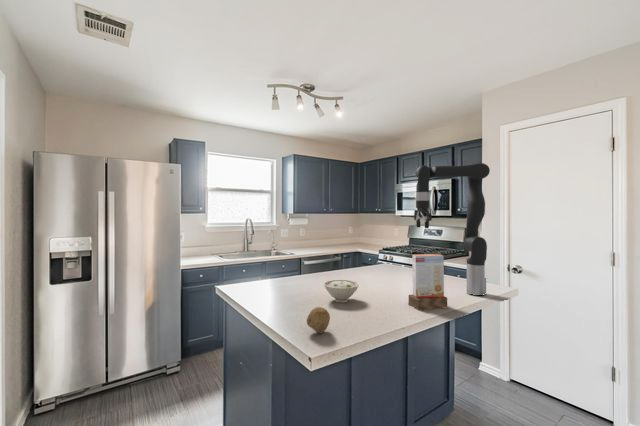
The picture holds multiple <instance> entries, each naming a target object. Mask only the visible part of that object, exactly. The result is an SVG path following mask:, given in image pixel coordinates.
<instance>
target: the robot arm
mask: <svg viewBox="0 0 640 426" xmlns="http://www.w3.org/2000/svg"><path fill="white" fill-rule="evenodd" d="M490 170H491V169H490V167H489V166H488V165H487V164H486V163H483V162H478V163H474V164H468V165H467V164H466V165H435V166H428V165H425V164H424V165H420V166H419V167H418V168H417V169H415V172H414V173H415V177H416V178H417V183H416V187H415V188H416V190H415V192H416V194H415V208H416V209H414V211H413V212H414V213H413V219H414V221H415V222H416V228H421V220H422V219H423V220H424V228H425V229H429V228H430V221H432V220H433V217H432V214H433V213H432V210H431V209H429V208H430V179H450V178H458V177H460V178H462V177H467V185H468V186H467V187H468V191H467V192H468V193H467V204H466V205H467V206H466V226H465V233H464V238H463V239H464V240H463V245H464V248H465V250H466V251H468V252H470V256H469V258H466V294H467V293H469V294H474V295H483V294H485V293H486V294H487V278H486V276H485V274H486V272H485V271H486V269H485V266H486V265H485V264H486V260H487V256H488V254H487V251H488V245H487V241H486V240H485V238H484V237H482V236H479V228H480V227H479V226H480V224H481V222H482V221H483V218H484V217H485V213H486V201H485V197H484V193H483V189H482V184H483V180H484V179H485V178H487V177H488V175H490V172H491V171H490ZM469 294H468V295H469Z"/></svg>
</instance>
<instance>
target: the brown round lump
mask: <svg viewBox="0 0 640 426" xmlns="http://www.w3.org/2000/svg"><path fill="white" fill-rule="evenodd" d="M330 320H331V314H330V312H329V311H328V310H327V309H326V308H325V307H321V306H317V307H314V308H312V309H311V310H310V312H309V314H308V316H307V318H306V325H307V326H308V327H309V328H311V329H312V330H313V331H314V332H316V333H317V334H323V333H324V332H325V331H326V330H327V329H328V326H329V324H330Z"/></svg>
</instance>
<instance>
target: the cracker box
mask: <svg viewBox="0 0 640 426" xmlns="http://www.w3.org/2000/svg"><path fill="white" fill-rule="evenodd" d="M411 259H412V265H411V266H412V295H414V296H415V297H416V298H430V297H441V298H442V297H444V296H445V276H444V275H445V273H444V272H445V271H444V268H445V267H444V265H445V264H444V263H445V262H444V261H445V259H444V255H443V254H440V253H439V254H438V253H436V254H435V253H432V254H431V253H430V254H429V253H427V254H426V253H425V254H424V253H422V254H421V253H420V254H419V253H417V254H416V253H415V254H412V258H411Z"/></svg>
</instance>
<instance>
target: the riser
mask: <svg viewBox="0 0 640 426" xmlns="http://www.w3.org/2000/svg"><path fill="white" fill-rule="evenodd" d="M408 306H410V307H411V308H413V307H414V309H415V310H417V311H425V310H424V309H428V310H435V309H434V308H439V309H444V308H443V307H447V308H448V297H447V296H445V295H444V297H442V298H441V297H430V298H416V297H415V296H414V295H413V294H409V295H408Z"/></svg>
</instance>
